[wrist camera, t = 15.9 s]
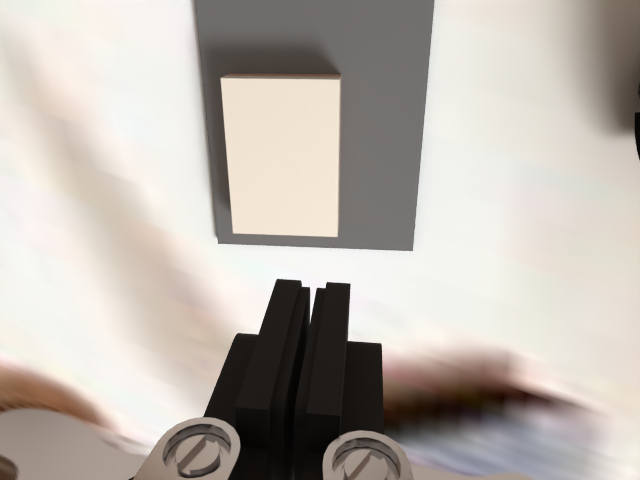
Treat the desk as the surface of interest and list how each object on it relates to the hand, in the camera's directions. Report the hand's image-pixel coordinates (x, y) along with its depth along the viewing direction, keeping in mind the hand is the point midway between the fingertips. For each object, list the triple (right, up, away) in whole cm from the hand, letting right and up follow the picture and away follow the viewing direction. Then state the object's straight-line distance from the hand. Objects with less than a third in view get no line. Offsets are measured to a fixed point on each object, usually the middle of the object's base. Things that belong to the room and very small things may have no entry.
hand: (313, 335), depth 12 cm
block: (+1, +7, +21) cm, 22 cm away
